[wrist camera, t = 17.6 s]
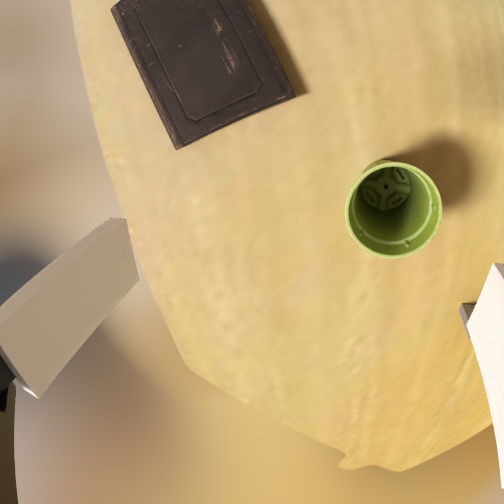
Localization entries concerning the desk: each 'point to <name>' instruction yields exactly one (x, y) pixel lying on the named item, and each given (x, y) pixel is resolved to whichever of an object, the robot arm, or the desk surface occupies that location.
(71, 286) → the robot arm
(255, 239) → the desk surface
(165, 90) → the hardcover book
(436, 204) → the plant pot
